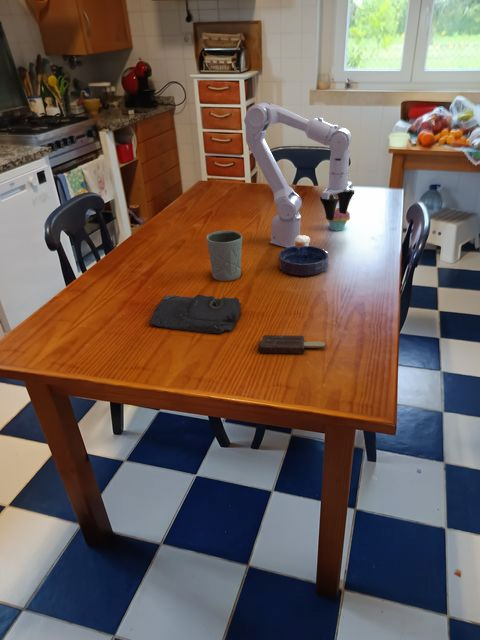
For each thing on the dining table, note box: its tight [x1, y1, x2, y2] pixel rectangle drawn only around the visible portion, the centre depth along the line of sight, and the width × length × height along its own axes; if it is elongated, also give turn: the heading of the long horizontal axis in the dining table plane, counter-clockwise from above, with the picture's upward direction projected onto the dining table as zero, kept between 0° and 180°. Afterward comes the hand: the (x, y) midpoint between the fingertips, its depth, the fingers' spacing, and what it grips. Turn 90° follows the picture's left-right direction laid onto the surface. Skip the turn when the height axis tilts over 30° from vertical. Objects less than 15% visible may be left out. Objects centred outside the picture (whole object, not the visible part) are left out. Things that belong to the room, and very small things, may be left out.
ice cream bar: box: [258, 334, 326, 355], centre depth 110 cm, size 5×2×15 cm
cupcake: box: [325, 195, 351, 231], centre depth 172 cm, size 9×8×12 cm
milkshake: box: [295, 234, 311, 264], centre depth 145 cm, size 5×5×10 cm
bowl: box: [278, 245, 329, 277], centre depth 147 cm, size 15×15×4 cm
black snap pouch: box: [149, 294, 242, 335], centre depth 123 cm, size 15×22×5 cm
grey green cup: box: [205, 230, 243, 282], centre depth 141 cm, size 10×10×12 cm
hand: (336, 216), depth 155 cm, fingers open, 7 cm apart
